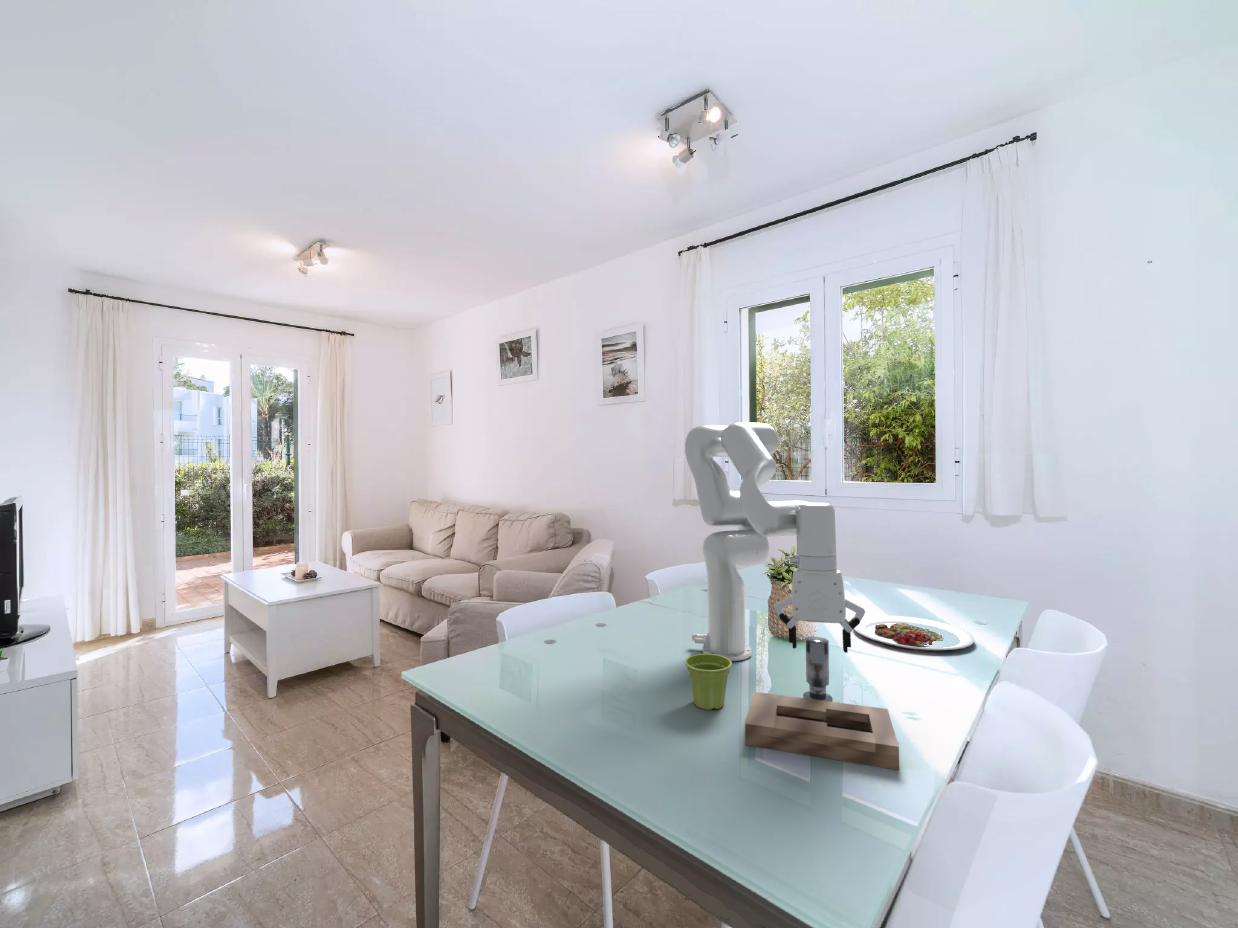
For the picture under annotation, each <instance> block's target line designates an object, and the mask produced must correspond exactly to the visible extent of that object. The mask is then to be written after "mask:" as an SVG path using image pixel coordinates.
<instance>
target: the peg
mask: <svg viewBox="0 0 1238 928" xmlns="http://www.w3.org/2000/svg"><path fill="white" fill-rule="evenodd" d="M829 644H830V643H829V640H828V639H827V638H825V637H821V636H808V637H805V682H806V683H807V684H809V687H808V688H809V689H808V690H809V691H805V692H804V693H803V695H802V696H803V697H802V698H807V699H815V700H822V701H830V702H834V700H833V697H832V696H831V695H830V694H829V693H827V686H829V685H830V653H829V652H830V648H829V647H830V645H829Z"/></svg>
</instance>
